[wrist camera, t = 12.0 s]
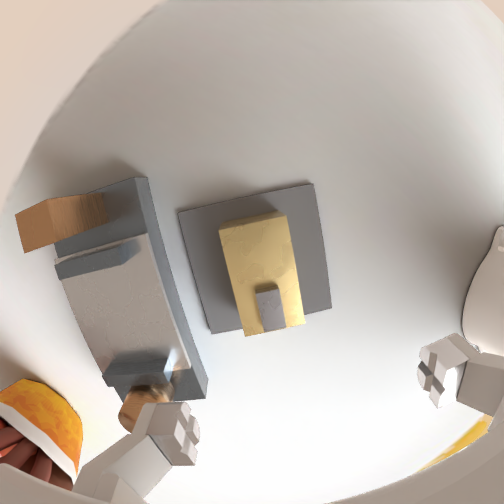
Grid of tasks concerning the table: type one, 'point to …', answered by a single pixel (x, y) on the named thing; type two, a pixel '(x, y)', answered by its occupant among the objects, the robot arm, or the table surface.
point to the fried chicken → (40, 433)
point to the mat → (214, 264)
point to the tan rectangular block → (262, 272)
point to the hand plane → (121, 292)
